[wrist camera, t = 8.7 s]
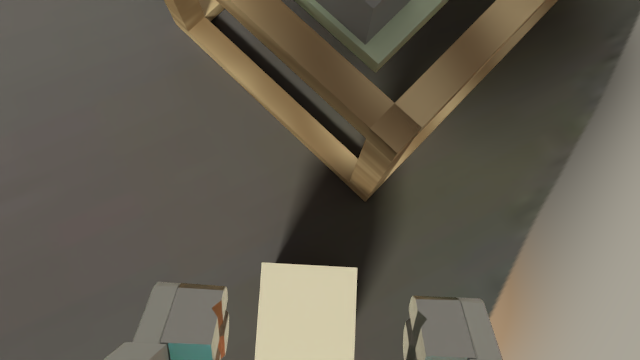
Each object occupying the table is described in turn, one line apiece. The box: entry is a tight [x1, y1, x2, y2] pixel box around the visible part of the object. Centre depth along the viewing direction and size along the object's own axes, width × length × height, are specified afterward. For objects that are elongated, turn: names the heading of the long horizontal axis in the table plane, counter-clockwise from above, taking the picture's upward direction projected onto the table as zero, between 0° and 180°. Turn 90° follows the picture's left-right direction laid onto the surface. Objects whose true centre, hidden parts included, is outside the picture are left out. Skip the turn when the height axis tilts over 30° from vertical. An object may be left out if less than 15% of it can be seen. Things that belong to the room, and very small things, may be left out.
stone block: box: [255, 263, 357, 360], centre depth 28 cm, size 4×4×8 cm
